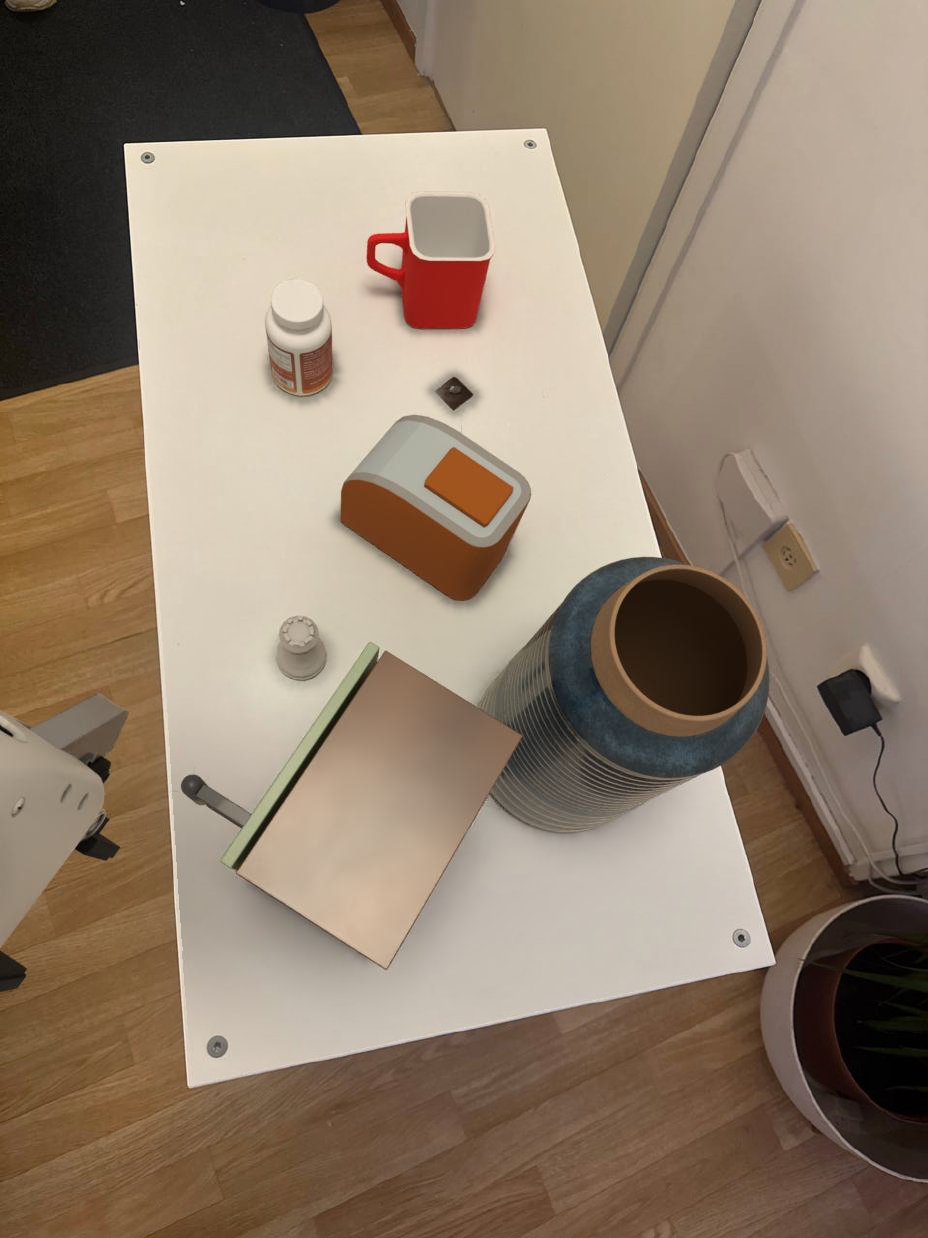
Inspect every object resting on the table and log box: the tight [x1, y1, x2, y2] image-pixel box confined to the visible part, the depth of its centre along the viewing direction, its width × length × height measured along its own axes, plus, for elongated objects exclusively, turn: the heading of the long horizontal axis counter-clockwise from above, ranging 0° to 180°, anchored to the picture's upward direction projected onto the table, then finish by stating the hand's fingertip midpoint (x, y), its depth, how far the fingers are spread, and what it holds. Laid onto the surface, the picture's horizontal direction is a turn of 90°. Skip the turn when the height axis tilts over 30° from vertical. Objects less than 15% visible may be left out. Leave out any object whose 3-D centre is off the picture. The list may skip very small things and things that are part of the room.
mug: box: [366, 190, 496, 330], centre depth 89 cm, size 12×8×11 cm
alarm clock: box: [339, 414, 532, 601], centre depth 79 cm, size 15×8×14 cm, turn 56°
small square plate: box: [434, 376, 474, 411], centre depth 90 cm, size 3×3×1 cm
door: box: [180, 641, 380, 872], centre depth 52 cm, size 5×14×10 cm, turn 149°
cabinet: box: [235, 650, 522, 971], centre depth 61 cm, size 11×14×31 cm
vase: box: [477, 556, 771, 833], centre depth 66 cm, size 16×16×32 cm
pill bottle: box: [264, 278, 334, 396], centre depth 84 cm, size 6×6×11 cm
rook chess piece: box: [276, 615, 327, 681], centre depth 76 cm, size 4×4×8 cm
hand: (38, 894), depth 35 cm, fingers open, 4 cm apart
